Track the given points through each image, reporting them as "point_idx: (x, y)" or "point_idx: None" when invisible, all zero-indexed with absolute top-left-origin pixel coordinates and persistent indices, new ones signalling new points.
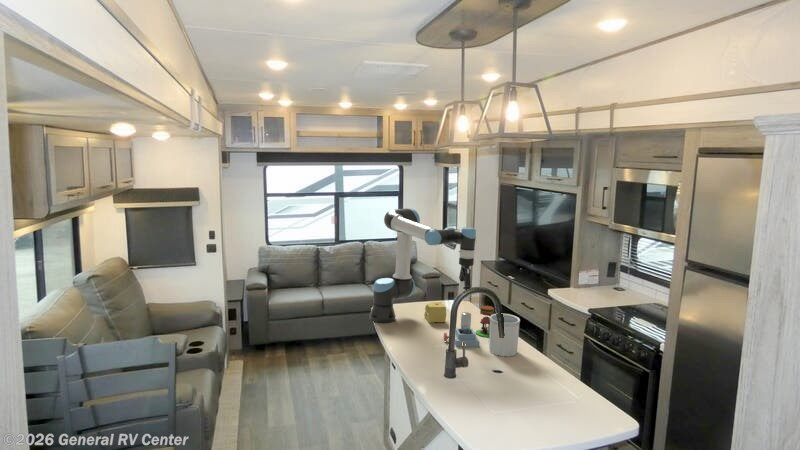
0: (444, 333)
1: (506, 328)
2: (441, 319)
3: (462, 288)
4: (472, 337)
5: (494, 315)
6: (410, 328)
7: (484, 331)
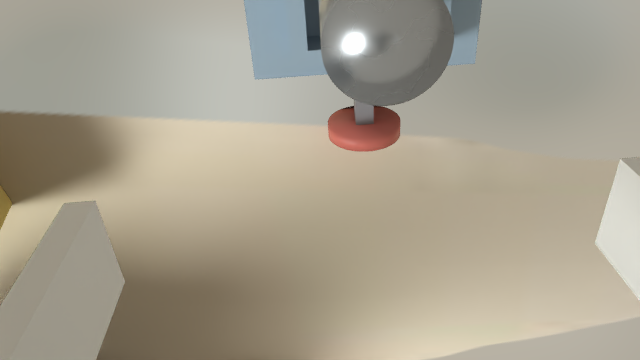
0: (363, 148)
1: None
2: None
3: (68, 316)
4: None
5: None
6: (168, 295)
7: None
